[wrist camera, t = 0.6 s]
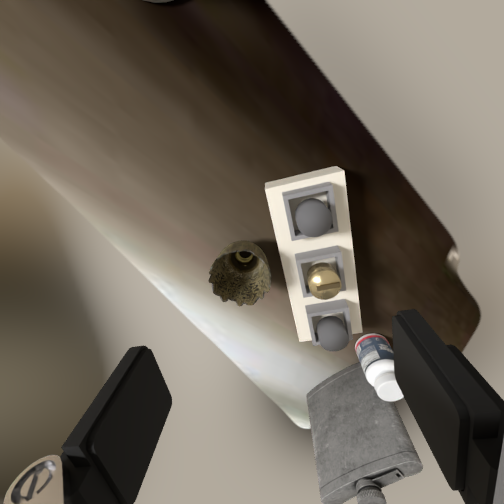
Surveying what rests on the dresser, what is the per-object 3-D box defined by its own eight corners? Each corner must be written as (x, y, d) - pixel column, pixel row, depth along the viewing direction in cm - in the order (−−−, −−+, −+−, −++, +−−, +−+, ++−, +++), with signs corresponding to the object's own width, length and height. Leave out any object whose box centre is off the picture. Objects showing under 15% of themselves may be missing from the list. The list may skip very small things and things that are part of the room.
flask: (300, 393, 51) (315, 519, 35) (367, 353, 47) (420, 477, 30) (313, 403, 52) (333, 531, 36) (379, 366, 48) (438, 492, 31)
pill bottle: (394, 344, 45) (421, 391, 37) (369, 362, 47) (390, 410, 39) (372, 326, 44) (396, 371, 36) (347, 345, 46) (364, 392, 38)
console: (265, 182, 36) (264, 193, 30) (336, 165, 35) (349, 173, 29) (297, 324, 45) (301, 351, 39) (354, 315, 44) (366, 342, 38)
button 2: (292, 202, 31) (294, 208, 28) (325, 194, 30) (329, 200, 28) (297, 232, 32) (300, 240, 30) (329, 225, 32) (334, 233, 29)
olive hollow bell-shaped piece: (278, 238, 39) (281, 264, 32) (260, 281, 42) (258, 314, 35) (228, 220, 38) (218, 242, 31) (213, 265, 41) (201, 295, 34)
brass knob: (304, 265, 34) (307, 276, 31) (334, 259, 33) (339, 270, 31) (309, 290, 35) (312, 303, 33) (338, 285, 35) (343, 297, 32)
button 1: (314, 318, 37) (317, 331, 35) (342, 313, 36) (347, 326, 34) (318, 339, 38) (321, 353, 36) (345, 335, 38) (350, 349, 36)
